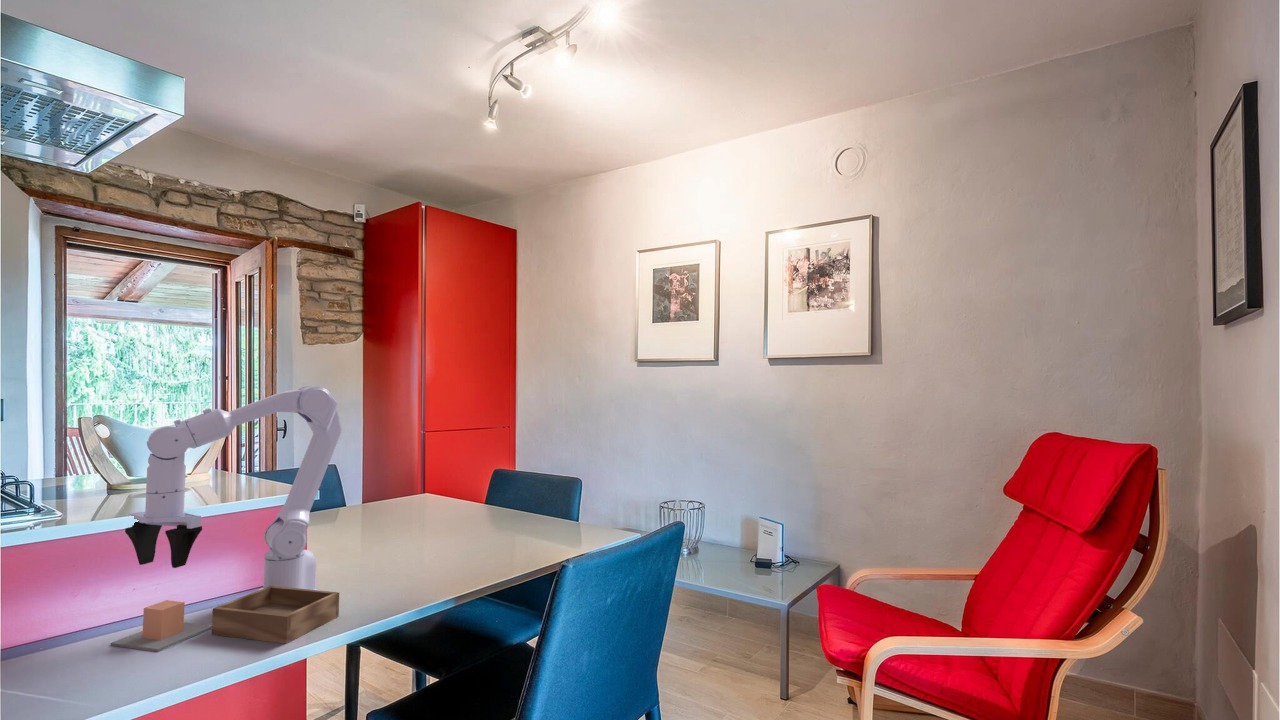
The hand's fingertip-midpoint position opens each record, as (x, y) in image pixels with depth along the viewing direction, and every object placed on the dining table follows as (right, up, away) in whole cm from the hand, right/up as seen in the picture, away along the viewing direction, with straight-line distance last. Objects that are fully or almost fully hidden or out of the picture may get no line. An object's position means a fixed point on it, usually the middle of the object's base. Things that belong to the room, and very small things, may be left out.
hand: (162, 564), depth 113 cm
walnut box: (+22, -11, -1) cm, 25 cm away
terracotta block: (+6, -10, -7) cm, 13 cm away
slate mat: (+6, -10, -7) cm, 13 cm away
